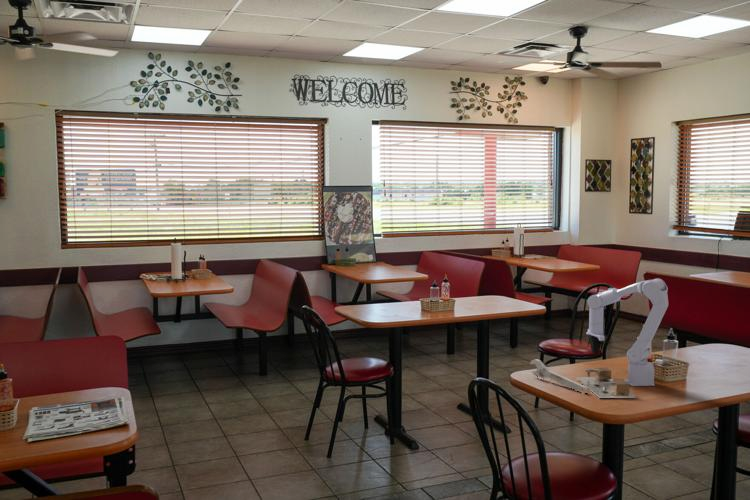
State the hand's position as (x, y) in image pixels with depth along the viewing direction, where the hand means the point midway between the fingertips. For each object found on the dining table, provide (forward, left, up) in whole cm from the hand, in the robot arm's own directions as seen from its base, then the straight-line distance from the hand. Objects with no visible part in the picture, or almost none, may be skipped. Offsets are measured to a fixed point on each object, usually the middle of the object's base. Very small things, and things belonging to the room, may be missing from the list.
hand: (595, 353), depth 288 cm
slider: (+3, +9, -8) cm, 12 cm away
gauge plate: (+3, +19, -9) cm, 21 cm away
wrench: (+20, +13, -10) cm, 26 cm away
